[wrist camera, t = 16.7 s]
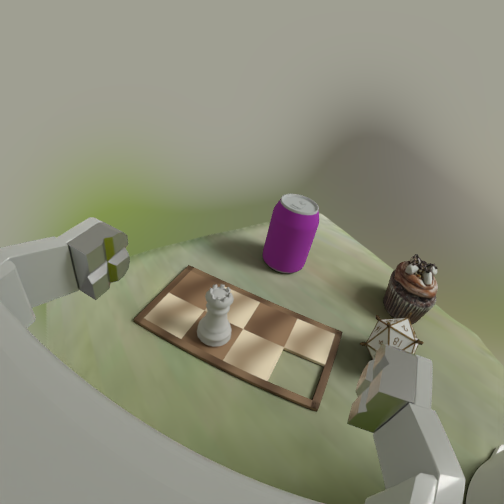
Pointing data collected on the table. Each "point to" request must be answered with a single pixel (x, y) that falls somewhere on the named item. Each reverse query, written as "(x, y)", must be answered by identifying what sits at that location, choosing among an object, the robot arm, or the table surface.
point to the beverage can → (291, 233)
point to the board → (241, 333)
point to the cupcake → (411, 289)
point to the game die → (393, 335)
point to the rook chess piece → (216, 317)
